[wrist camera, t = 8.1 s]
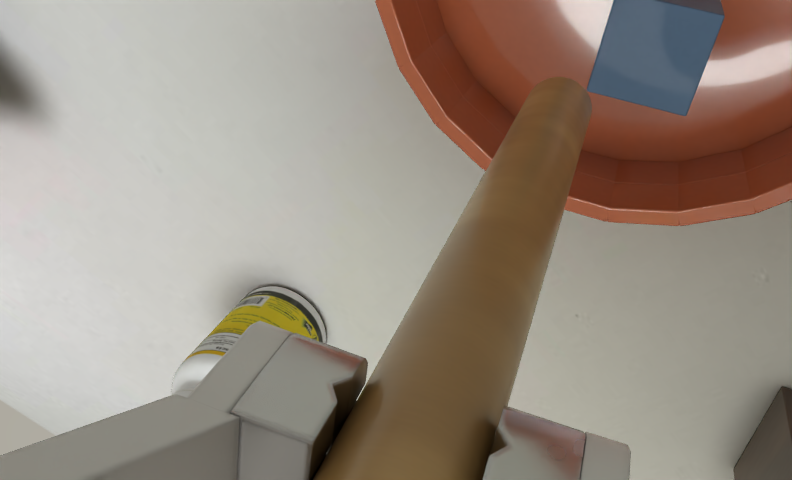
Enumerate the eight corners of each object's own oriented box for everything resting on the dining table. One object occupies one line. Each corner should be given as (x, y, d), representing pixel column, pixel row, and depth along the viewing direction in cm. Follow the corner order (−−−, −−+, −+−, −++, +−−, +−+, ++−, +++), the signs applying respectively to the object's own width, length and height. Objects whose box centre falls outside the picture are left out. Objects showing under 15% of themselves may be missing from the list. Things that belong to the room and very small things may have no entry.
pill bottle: (303, 378, 49) (216, 503, 40) (229, 323, 49) (124, 436, 40) (346, 324, 45) (262, 447, 36) (266, 264, 45) (161, 372, 36)
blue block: (720, -4, 30) (725, 15, 27) (685, 88, 32) (686, 117, 29) (623, -26, 31) (616, -10, 27) (595, 66, 33) (585, 91, 29)
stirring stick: (600, 84, 19) (369, 893, 4) (581, 146, 20) (337, 987, 5) (534, 69, 20) (115, 767, 5) (519, 129, 21) (127, 874, 6)
